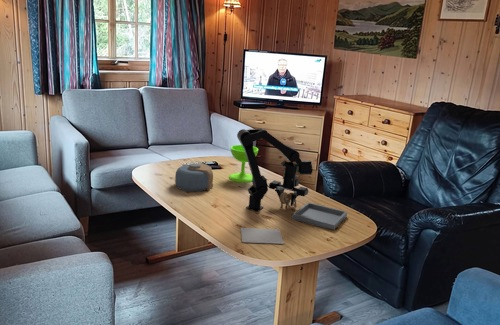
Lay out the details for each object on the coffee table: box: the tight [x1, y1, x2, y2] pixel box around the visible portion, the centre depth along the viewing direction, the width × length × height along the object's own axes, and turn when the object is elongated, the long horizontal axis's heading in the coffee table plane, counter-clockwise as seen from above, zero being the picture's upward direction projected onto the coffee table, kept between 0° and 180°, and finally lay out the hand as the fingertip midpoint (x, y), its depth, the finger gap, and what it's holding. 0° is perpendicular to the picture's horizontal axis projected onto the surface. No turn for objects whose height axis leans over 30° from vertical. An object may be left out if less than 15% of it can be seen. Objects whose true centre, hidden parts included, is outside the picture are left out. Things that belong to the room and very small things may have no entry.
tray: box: [291, 201, 348, 231], centre depth 208 cm, size 20×20×2 cm
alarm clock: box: [174, 162, 214, 192], centre depth 237 cm, size 19×20×12 cm
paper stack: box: [240, 227, 284, 245], centre depth 189 cm, size 23×25×1 cm
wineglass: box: [228, 144, 259, 184], centre depth 257 cm, size 16×16×18 cm
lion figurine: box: [279, 191, 297, 210], centre depth 218 cm, size 15×5×9 cm, turn 152°
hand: (286, 204), depth 218 cm, fingers open, 5 cm apart
